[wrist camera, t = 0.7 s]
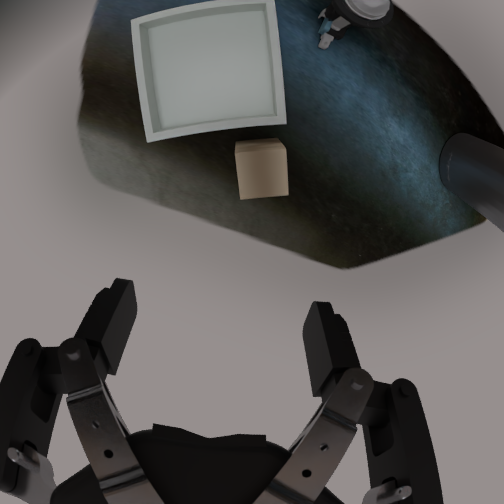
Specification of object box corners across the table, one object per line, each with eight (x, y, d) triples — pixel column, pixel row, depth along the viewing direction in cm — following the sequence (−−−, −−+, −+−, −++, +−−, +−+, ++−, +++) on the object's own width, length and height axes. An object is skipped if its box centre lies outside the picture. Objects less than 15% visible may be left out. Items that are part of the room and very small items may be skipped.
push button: (341, 59, 23) (384, 49, 15) (296, 38, 22) (322, 15, 13) (360, 16, 20) (405, -5, 11) (317, -6, 18) (348, -39, 10)
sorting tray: (270, 6, 20) (273, -4, 17) (281, 120, 27) (286, 123, 24) (142, 26, 20) (130, 19, 17) (156, 136, 27) (147, 142, 24)
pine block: (277, 137, 28) (286, 148, 23) (279, 176, 30) (288, 195, 25) (235, 141, 28) (234, 153, 23) (240, 179, 31) (240, 199, 26)
